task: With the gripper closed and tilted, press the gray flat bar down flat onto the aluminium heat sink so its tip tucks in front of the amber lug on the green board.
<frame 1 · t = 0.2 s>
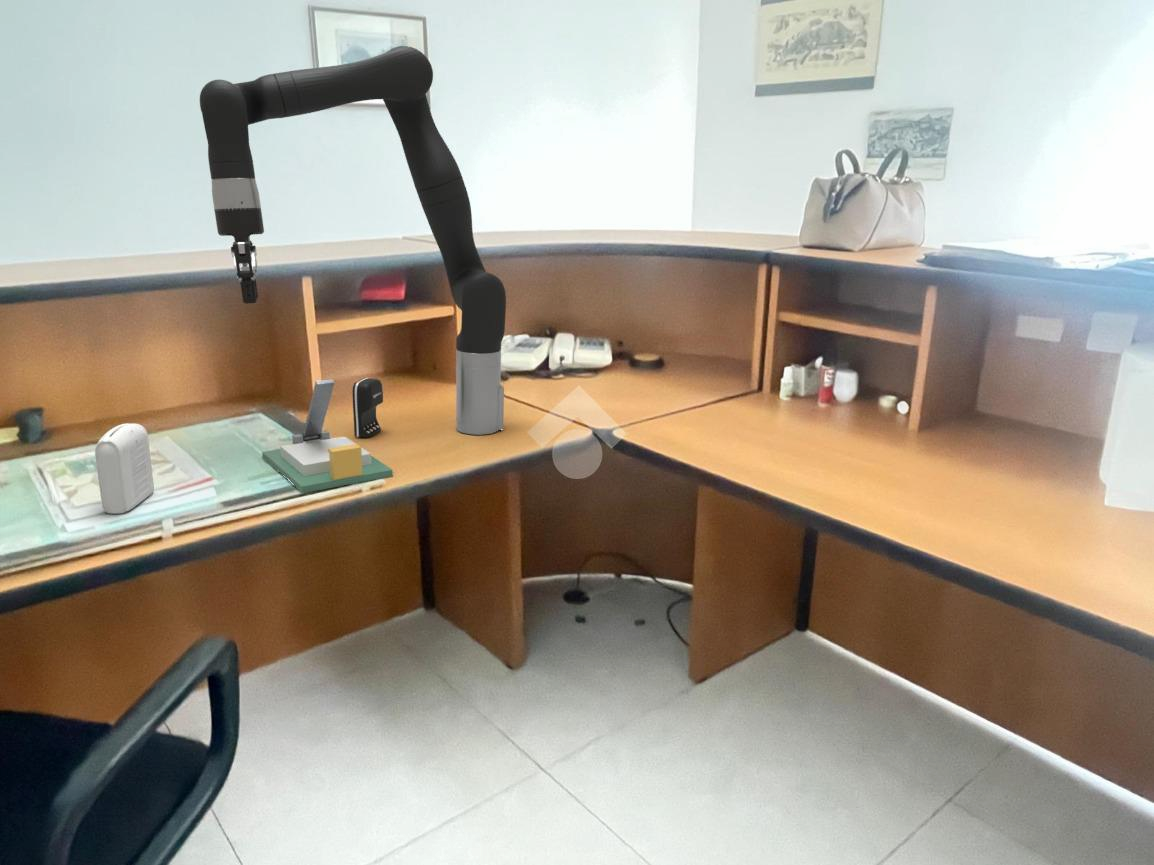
hand: (251, 301, 143), 28 cm above the table, tool pointing down, fingers open, 8 cm apart
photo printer: (130, 503, 125), on the table
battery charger: (370, 435, 164), on the table
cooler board: (326, 466, 144), on the table
gray flat bar: (317, 411, 143), point 10 cm above the table, hinge at 55.0°
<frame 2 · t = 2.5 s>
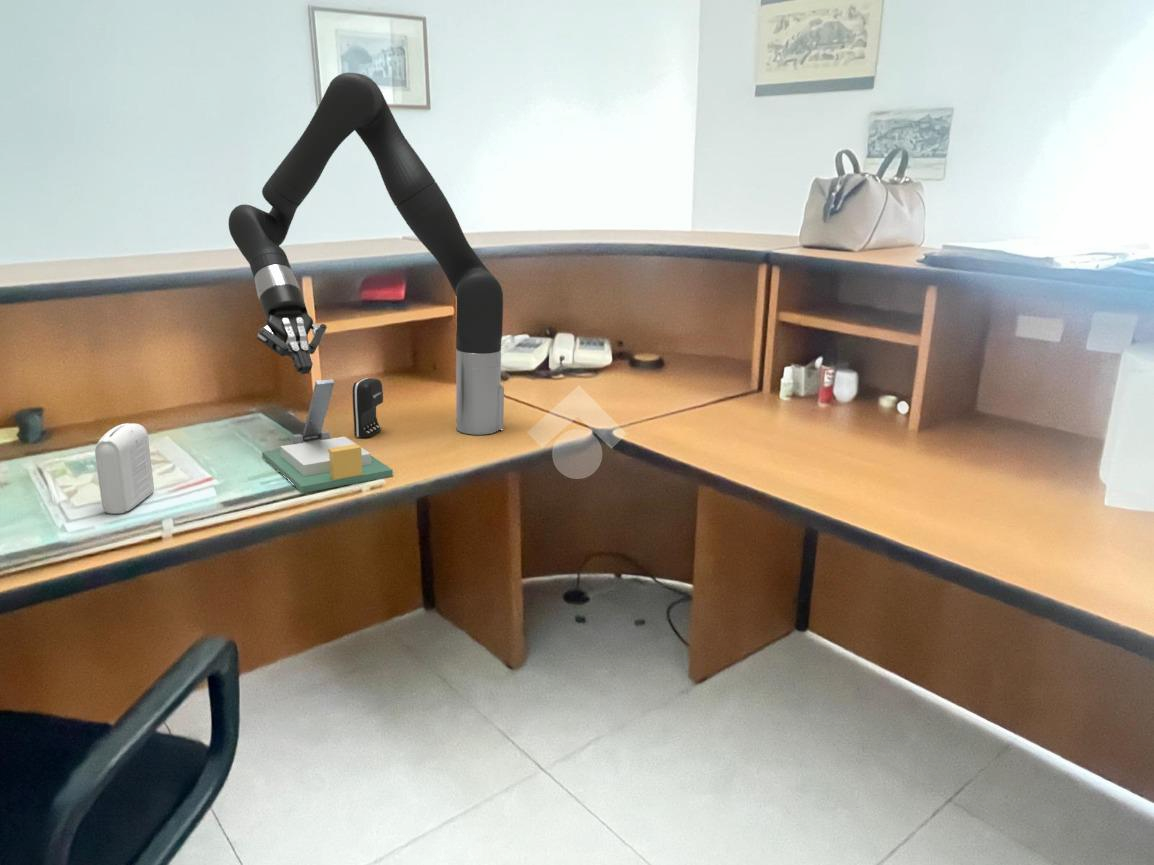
hand: (305, 371, 145), 16 cm above the table, tool tilted 45°, fingers closed
nothing on the table moved.
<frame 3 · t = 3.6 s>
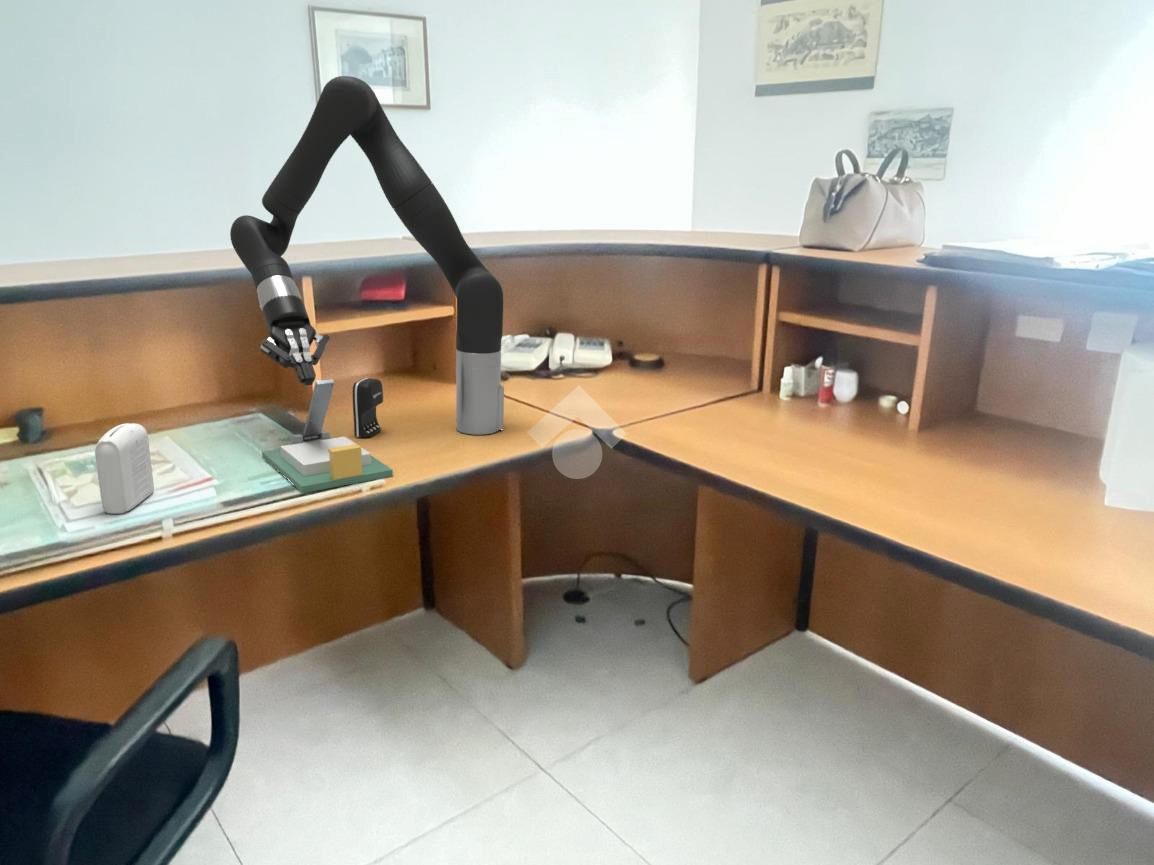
hand: (309, 382, 145), 14 cm above the table, tool tilted 45°, fingers closed
nothing on the table moved.
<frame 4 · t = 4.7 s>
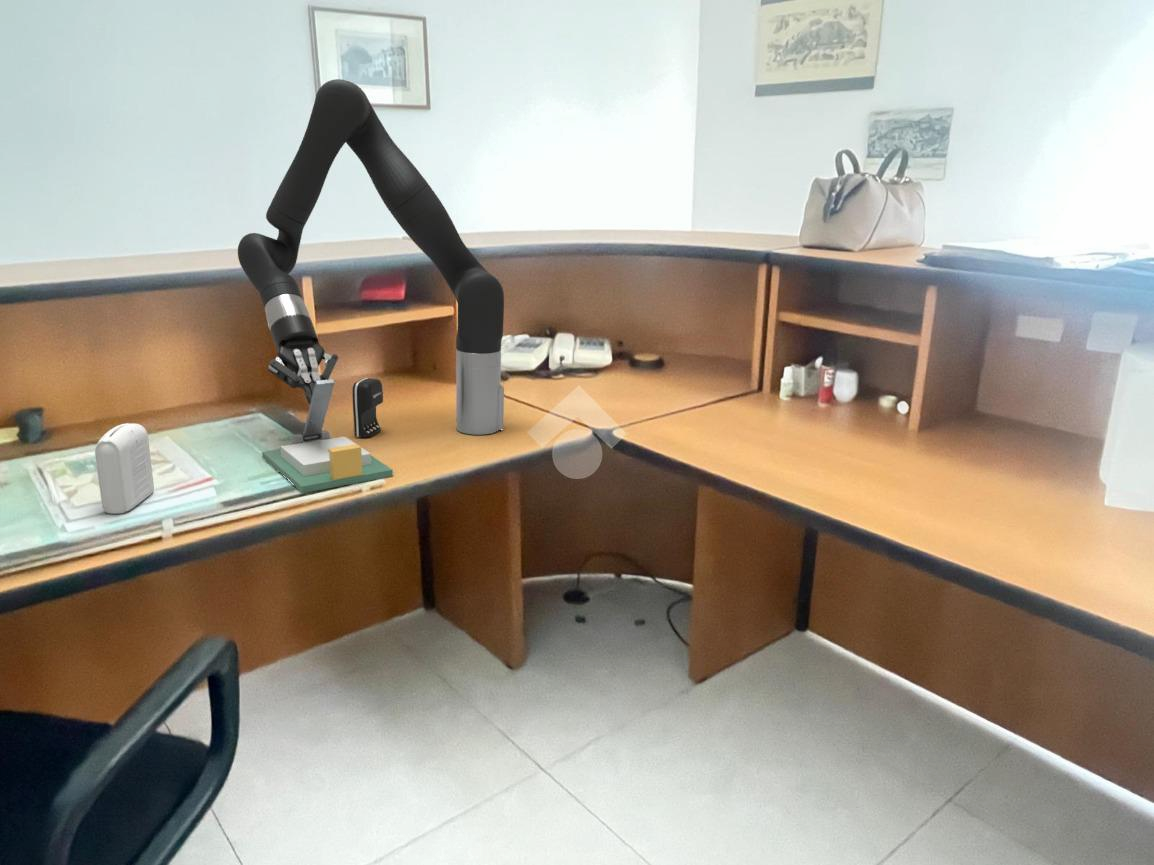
hand: (317, 403, 143), 11 cm above the table, tool tilted 45°, fingers closed
gray flat bar: (317, 411, 143), point 10 cm above the table, hinge at 54.9°, touching gripper
everything else where it was.
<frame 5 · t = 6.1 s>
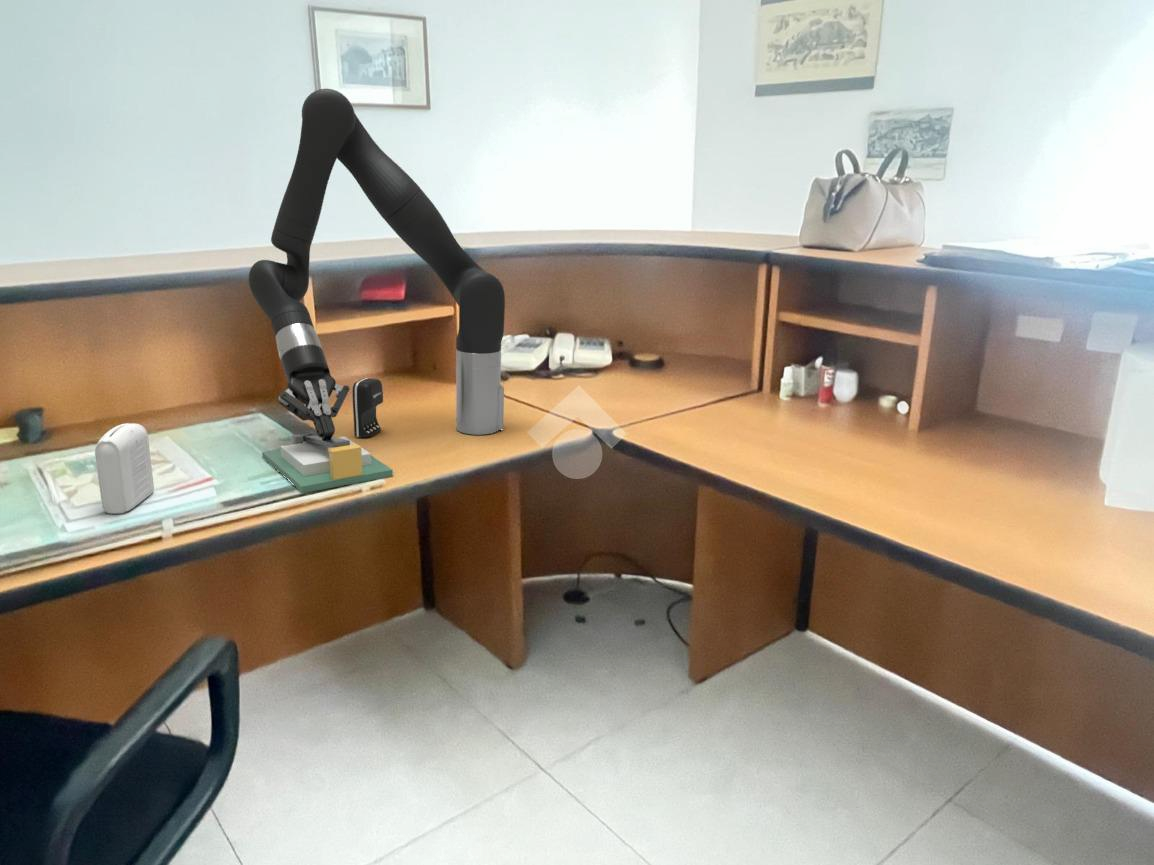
hand: (328, 437, 140), 6 cm above the table, tool tilted 45°, fingers closed
gray flat bar: (324, 440, 143), point 5 cm above the table, hinge at 10.1°, touching gripper
everything else where it was.
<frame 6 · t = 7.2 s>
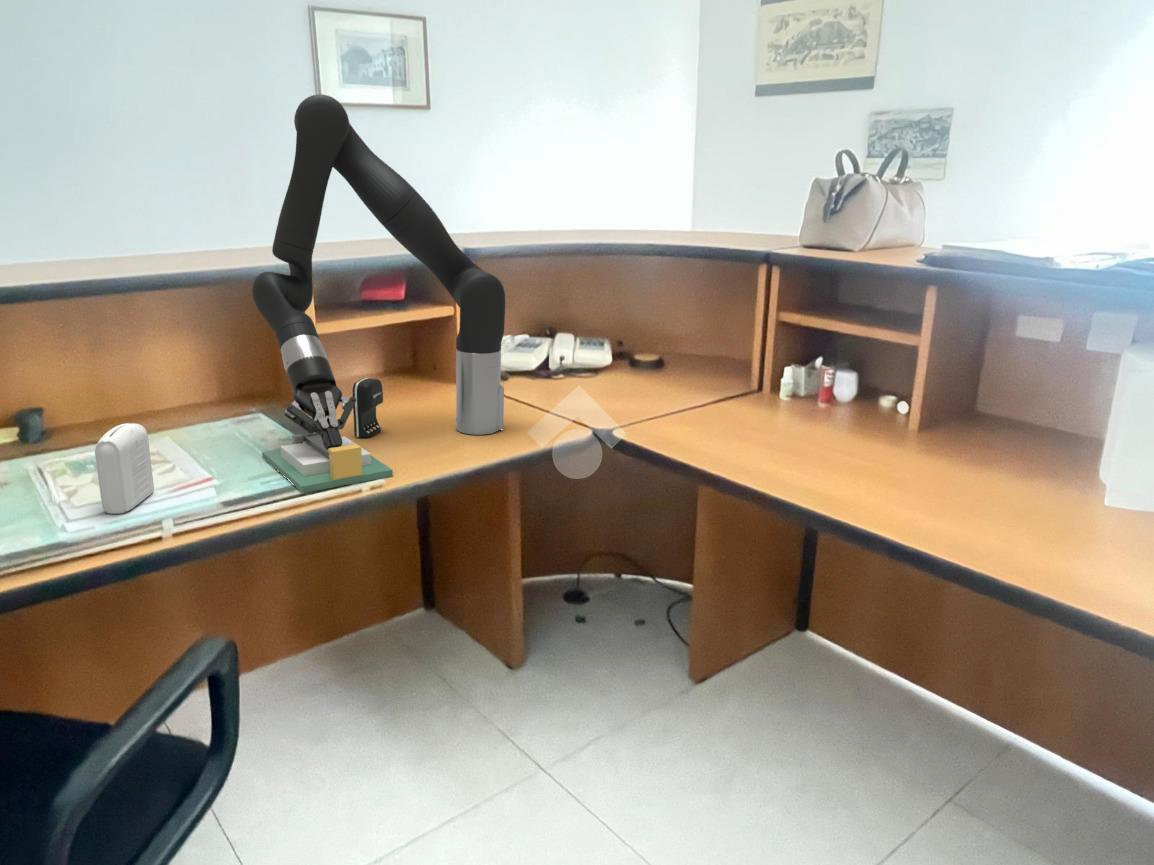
hand: (335, 449, 138), 5 cm above the table, tool tilted 45°, fingers closed
gray flat bar: (325, 446, 143), point 4 cm above the table, hinge at 1.1°, touching gripper
everything else where it was.
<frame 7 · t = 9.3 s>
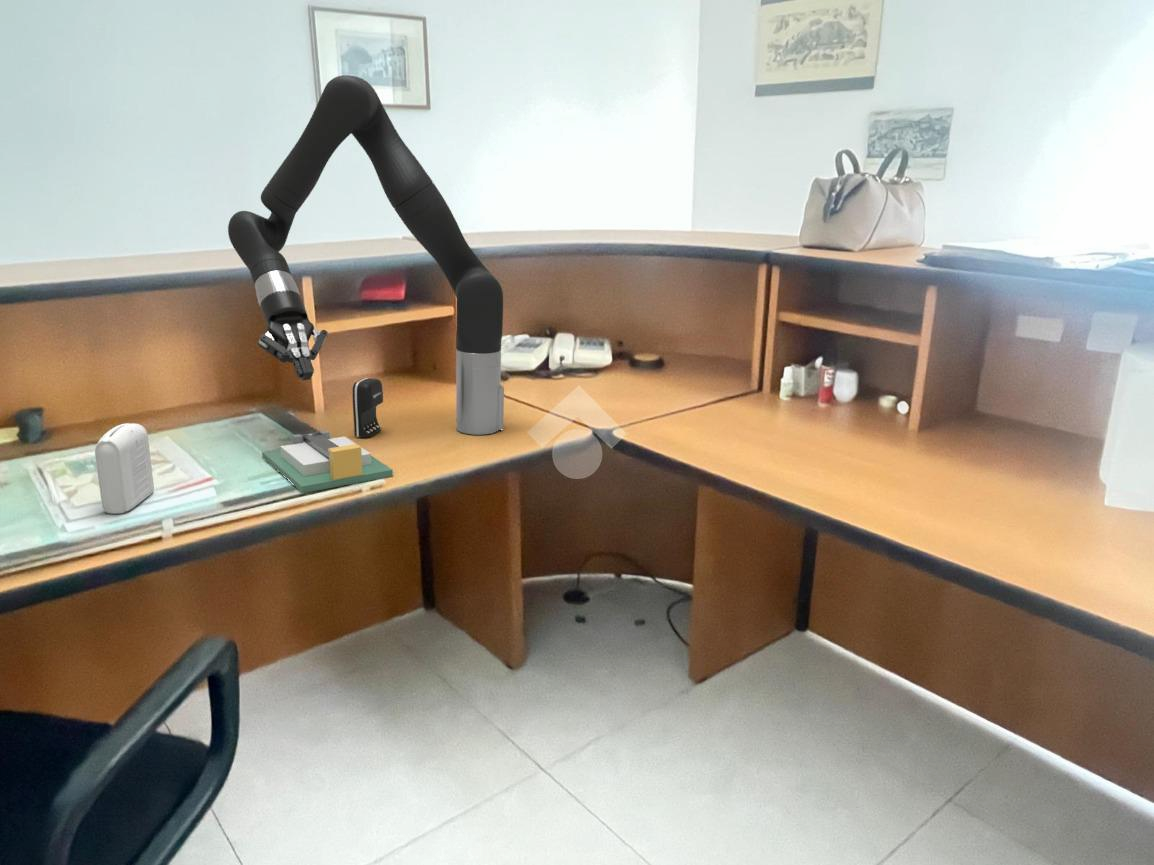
hand: (307, 377, 145), 15 cm above the table, tool tilted 45°, fingers closed
gray flat bar: (325, 446, 143), point 4 cm above the table, hinge at 1.1°
everything else where it was.
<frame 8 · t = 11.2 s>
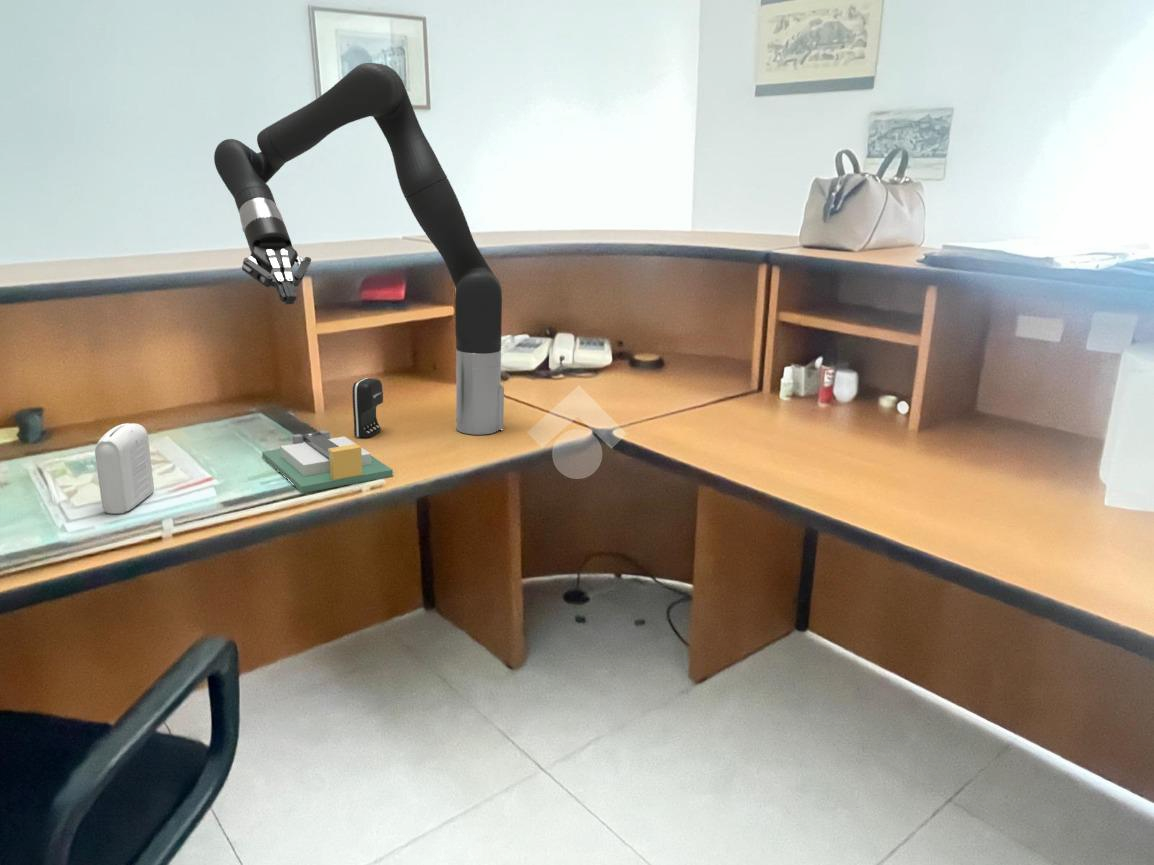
hand: (290, 301, 146), 28 cm above the table, tool tilted 45°, fingers closed
nothing on the table moved.
at the end: gray flat bar at +1° (first picture: +55°); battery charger moved 0.2 cm from its start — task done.
